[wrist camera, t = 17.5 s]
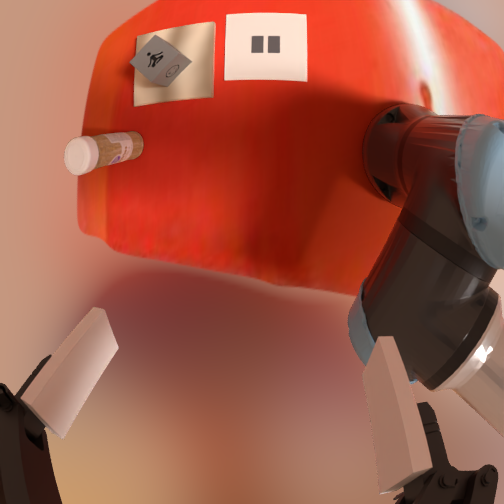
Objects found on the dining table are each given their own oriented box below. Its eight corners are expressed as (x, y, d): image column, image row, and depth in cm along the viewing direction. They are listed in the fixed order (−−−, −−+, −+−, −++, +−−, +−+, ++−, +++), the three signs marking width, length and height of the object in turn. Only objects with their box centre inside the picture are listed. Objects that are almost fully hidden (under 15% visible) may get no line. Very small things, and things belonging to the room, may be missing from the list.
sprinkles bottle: (135, 164, 38) (80, 183, 25) (116, 149, 37) (58, 163, 25) (150, 139, 36) (94, 149, 24) (129, 125, 35) (71, 130, 23)
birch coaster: (215, 23, 27) (214, 21, 26) (213, 97, 32) (211, 96, 31) (140, 37, 28) (137, 36, 27) (137, 106, 33) (133, 106, 33)
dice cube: (167, 86, 31) (151, 82, 27) (146, 68, 30) (129, 62, 25) (192, 61, 29) (179, 53, 25) (170, 43, 28) (155, 34, 24)
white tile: (306, 14, 25) (306, 14, 25) (306, 81, 30) (307, 81, 30) (226, 14, 26) (226, 14, 26) (224, 80, 31) (224, 80, 31)
